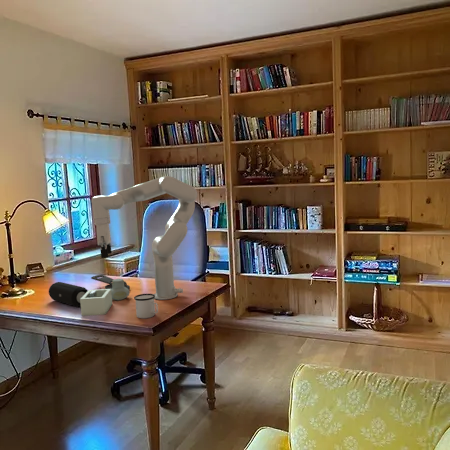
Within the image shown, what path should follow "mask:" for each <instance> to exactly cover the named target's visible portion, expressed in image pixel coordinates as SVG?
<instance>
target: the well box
mask: <svg viewBox="0 0 450 450" xmlns="http://www.w3.org/2000/svg"><path fill="white" fill-rule="evenodd" d="M87 290H88V289H87ZM94 290H96V294H97V297H92V298H90V294H89V293H90V292H91V291H94ZM80 304H81V307H80V313H81V317H86V316H87V317H88V316H100V315H101V316H102V315H106V314H107V313H108V311H109V310H110V309H111V307H112V306H113V299H112V292H111V289H105V288H101V289H89V290H88V291H87V292H86V293H85V295H84V296H83V297H82V298H81V299H80Z"/></svg>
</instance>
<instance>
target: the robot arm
mask: <svg viewBox="0 0 450 450" xmlns="http://www.w3.org/2000/svg"><path fill="white" fill-rule="evenodd" d="M165 194H167V195H169V196H172V197H174V198H176V199H178V206H177V208H176V210H175V211H174V213H173V214H172V216H171V217H170V218H169V219H168V221H167V223H166V224H165V226H164V227H165V228H164V230H165V232H164V234H163V235H158V236H156V237H155V238H154V239H153V241H152V244H151V251H152V258H153V269H154V281H155V293H153V294H154V295H155V298H154V300H171V299H175V298H176V297H178V295H179V294H181V293H184V289H183V288H180V287H179V288H176V285H175V281H174V280H175V279H174V264H173V255H174V253H176V251H177V250H178V248H179V246H180V245H181V243H182V242H183V241H184V240H185V238H186V236H187V233H188V226H187V225H188V223H189V221H190V220H191V218H192V216H193V215H194V212H195V210H196V209H195V207H196V204H195V203H196V200H197V199H198V190H197V189H196V188H195V187H194V186H192V185H190V184H188V183H187V182H183V181H181V180H179V179H177V178H176V177H175V178H174V177H173V176H171V175H164V176H160V177H157V178H153V179H151V180H148V181H145V182H141V183H139V184H136V185H134V186H131V187H128V188H126V189H122V190H119V191H116V192H113V193H111V194H109V195H96V196H93V197H91V205H92V214H93V221H94V226H96V239H97V242H96V243H97V246H99V247H100V249H99V250H100V257H101V258H102V259H105V258H109V255H110V254H112V245H111V230H110V224H111V217H110V210H121V209H122V208H123V207H124V206H125V205H129V204H132V203H135V202H136V203H137V202H144V201H148V200H150V199H153V198H156V197H159V196H162V195H165ZM178 293H179V294H178Z"/></svg>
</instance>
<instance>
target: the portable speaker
mask: <svg viewBox="0 0 450 450" xmlns="http://www.w3.org/2000/svg"><path fill="white" fill-rule="evenodd" d="M87 291H88V289H87V288H86V287H84V286H81V285H75V284H73V283H72V284H70V283H68V282H67V283H66V282H63V281H56V282H54V283H52V284H50V286H49V287H48V295H49V297H50V298H51V300H53V301H55V302H59V303H62V304H66V305H70V306H73V307H76V308H81V304H80V299H81V298H82V297H83V296H84V295H85V293H86V292H87Z"/></svg>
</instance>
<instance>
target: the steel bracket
mask: <svg viewBox="0 0 450 450" xmlns="http://www.w3.org/2000/svg"><path fill="white" fill-rule="evenodd" d="M93 290H94V291H91V292H90V293H89V294H90V298H92V297H97V294H96V290H97V289H93Z"/></svg>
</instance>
